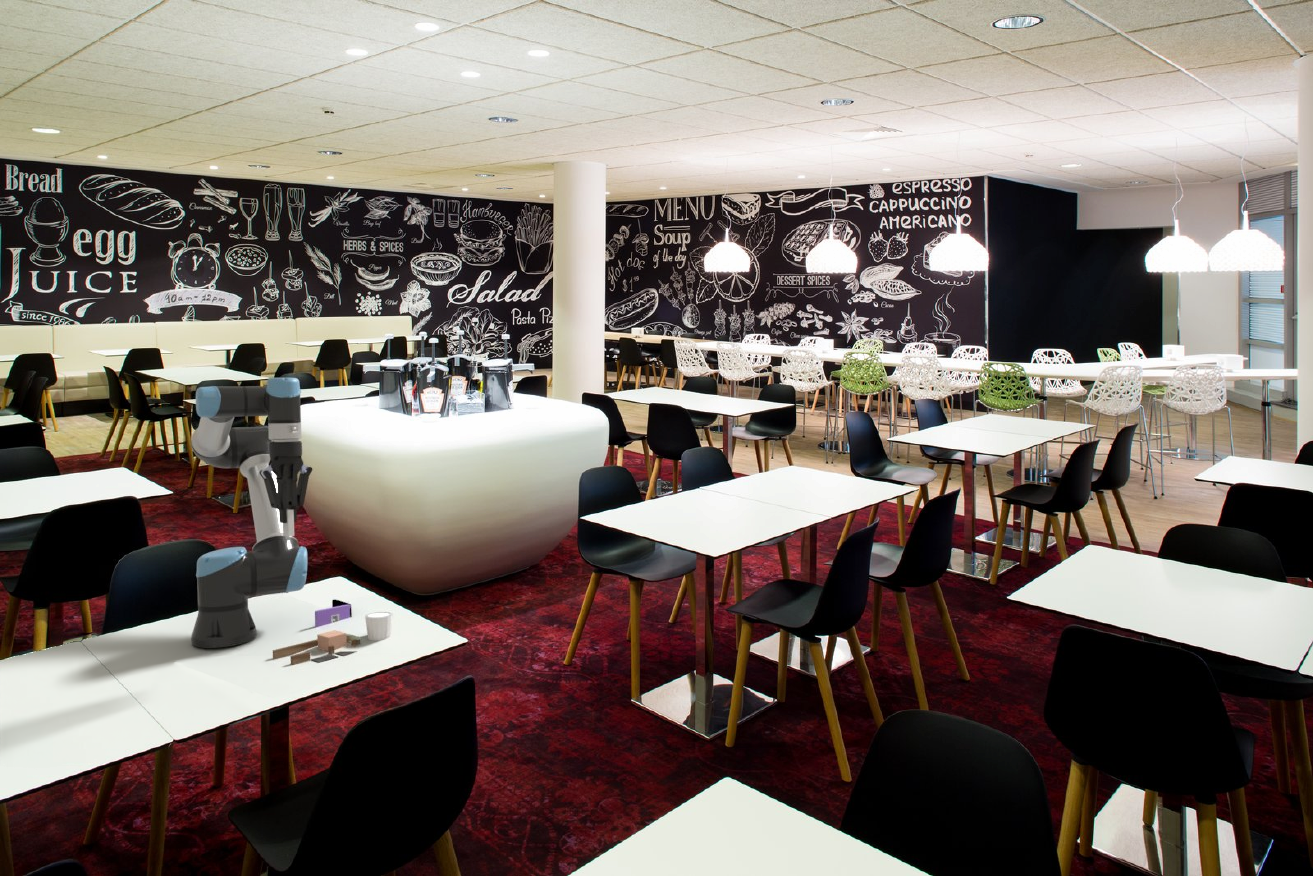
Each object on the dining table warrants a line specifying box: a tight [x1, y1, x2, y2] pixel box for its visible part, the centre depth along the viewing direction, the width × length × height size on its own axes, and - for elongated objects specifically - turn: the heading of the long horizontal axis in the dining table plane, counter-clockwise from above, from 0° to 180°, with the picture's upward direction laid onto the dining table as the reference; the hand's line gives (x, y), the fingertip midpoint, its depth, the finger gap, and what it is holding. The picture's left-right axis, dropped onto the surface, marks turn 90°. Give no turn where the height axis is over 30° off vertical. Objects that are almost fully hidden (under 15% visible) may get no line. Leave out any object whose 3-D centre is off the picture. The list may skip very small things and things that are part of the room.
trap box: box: [272, 632, 362, 666], centre depth 225 cm, size 12×18×2 cm
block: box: [316, 629, 348, 653], centre depth 229 cm, size 5×5×4 cm
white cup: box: [364, 611, 394, 641], centre depth 235 cm, size 7×7×7 cm
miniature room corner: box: [314, 598, 353, 628], centre depth 249 cm, size 12×12×7 cm
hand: (288, 535), depth 224 cm, fingers closed
